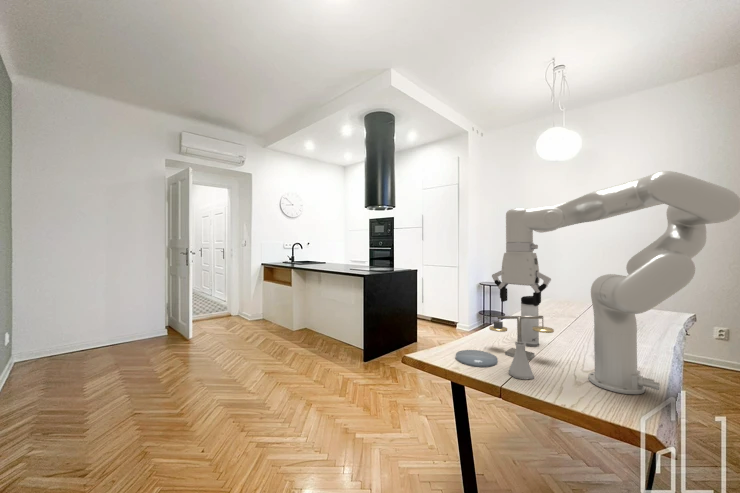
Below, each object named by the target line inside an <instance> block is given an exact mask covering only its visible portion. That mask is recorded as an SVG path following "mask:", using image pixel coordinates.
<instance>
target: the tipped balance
mask: <svg viewBox="0 0 740 493" xmlns="http://www.w3.org/2000/svg"><path fill="white" fill-rule="evenodd" d="M521 319H539V320H540V319H541V320H542V322H541V323H542V326H540V325H539V326H534V327H532V328H533V330H534V331H537V332H539V333H543V334H551V333H554V332H555V330H554V328H551V327H548V326H544V315H538V316H521V315H504V316H501V315H498V316H497V320H495V321H493V325H490V326H488V327H489V330H490V331H492V332H498V333H505V332H508V328H507V327H506V326H504V324H503V321H501V320H516V321H517V322H516V328H517V329H516V331H517V333H516V335H517V341H516V342H522V326H521ZM515 352H516V347H510V348H509V349H506V350H505V352H504V354H505V356H508V357H512V358H514V356H515ZM525 352H526V357H527V359H528V361H530V360H531V359H533V358H534V357H535V355H536V354H535V352H532V351H528V350H525Z"/></svg>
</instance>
